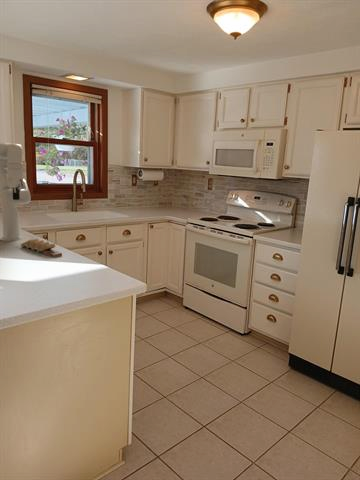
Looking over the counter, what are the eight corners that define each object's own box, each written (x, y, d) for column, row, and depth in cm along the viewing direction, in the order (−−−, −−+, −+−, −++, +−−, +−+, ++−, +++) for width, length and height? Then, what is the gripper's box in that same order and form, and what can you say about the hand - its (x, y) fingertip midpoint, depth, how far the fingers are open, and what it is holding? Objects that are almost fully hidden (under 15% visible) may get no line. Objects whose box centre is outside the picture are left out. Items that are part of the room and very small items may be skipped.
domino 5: (50, 252, 201) (61, 256, 195) (42, 253, 197) (53, 258, 191) (50, 248, 201) (61, 253, 195) (42, 250, 197) (53, 254, 191)
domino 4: (36, 248, 200) (46, 244, 194) (44, 247, 204) (54, 243, 198) (37, 252, 200) (47, 248, 194) (45, 250, 204) (55, 246, 198)
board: (15, 247, 209) (15, 246, 209) (29, 245, 216) (29, 244, 216) (40, 255, 196) (40, 254, 195) (53, 253, 202) (53, 252, 202)
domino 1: (20, 244, 208) (29, 239, 202) (28, 242, 212) (38, 238, 206) (21, 247, 208) (30, 243, 202) (29, 246, 212) (38, 242, 206)
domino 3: (31, 247, 203) (40, 243, 197) (39, 245, 207) (48, 241, 201) (31, 250, 203) (41, 246, 197) (40, 249, 207) (49, 245, 201)
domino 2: (25, 245, 206) (35, 241, 200) (34, 244, 210) (43, 240, 203) (26, 249, 206) (36, 245, 199) (34, 247, 209) (44, 243, 203)
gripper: (1, 165, 205) (2, 198, 209) (16, 167, 197) (17, 201, 200) (14, 166, 211) (15, 198, 215) (28, 167, 202) (29, 200, 206)
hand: (16, 199), depth 208 cm, fingers closed
